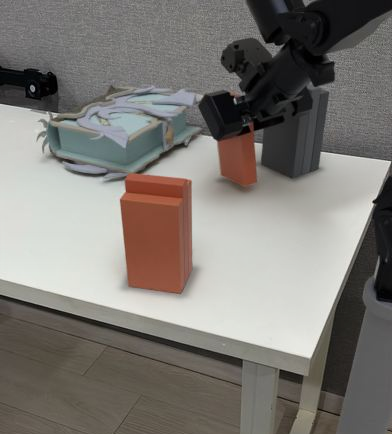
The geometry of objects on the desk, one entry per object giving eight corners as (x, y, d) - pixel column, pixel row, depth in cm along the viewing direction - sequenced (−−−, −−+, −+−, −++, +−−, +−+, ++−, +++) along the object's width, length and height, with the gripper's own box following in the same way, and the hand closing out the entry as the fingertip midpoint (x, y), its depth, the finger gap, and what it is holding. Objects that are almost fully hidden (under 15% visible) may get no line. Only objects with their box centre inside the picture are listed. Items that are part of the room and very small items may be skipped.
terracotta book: (257, 182, 91) (251, 98, 83) (245, 187, 90) (238, 103, 82) (232, 170, 96) (224, 90, 88) (220, 175, 95) (211, 94, 87)
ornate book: (122, 121, 121) (26, 166, 100) (118, 73, 115) (15, 110, 94) (214, 139, 112) (130, 192, 92) (216, 88, 106) (127, 132, 86)
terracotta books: (192, 269, 75) (191, 171, 66) (181, 294, 70) (178, 192, 61) (142, 262, 76) (135, 165, 67) (128, 286, 72) (118, 186, 63)
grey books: (318, 169, 99) (330, 84, 90) (292, 178, 96) (302, 92, 87) (286, 155, 104) (294, 74, 95) (260, 164, 101) (266, 81, 92)
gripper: (308, 11, 80) (251, 78, 93) (206, 29, 71) (160, 100, 85) (342, 83, 80) (280, 138, 94) (245, 109, 71) (193, 167, 85)
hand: (230, 134), depth 89 cm, fingers closed on terracotta book, 3 cm apart
